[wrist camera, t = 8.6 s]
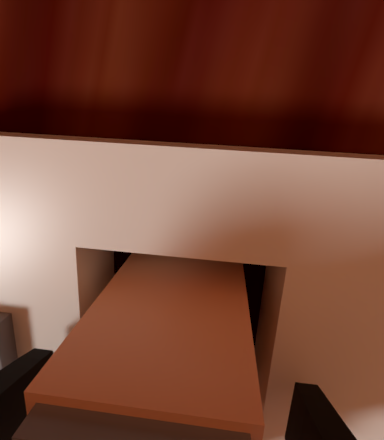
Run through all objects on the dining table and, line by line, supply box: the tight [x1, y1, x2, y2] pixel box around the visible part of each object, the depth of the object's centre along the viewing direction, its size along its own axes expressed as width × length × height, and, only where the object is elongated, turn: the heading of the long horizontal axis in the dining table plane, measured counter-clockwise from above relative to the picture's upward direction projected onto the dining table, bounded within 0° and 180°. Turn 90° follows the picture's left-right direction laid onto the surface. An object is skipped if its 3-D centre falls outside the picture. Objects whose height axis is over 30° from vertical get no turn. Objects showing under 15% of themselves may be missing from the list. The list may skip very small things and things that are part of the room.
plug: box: [12, 253, 265, 440], centre depth 9 cm, size 6×4×8 cm, turn 177°
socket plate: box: [0, 132, 384, 440], centre depth 10 cm, size 14×18×4 cm
